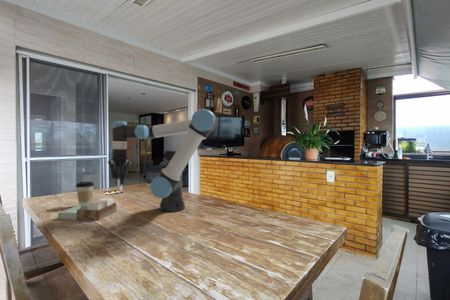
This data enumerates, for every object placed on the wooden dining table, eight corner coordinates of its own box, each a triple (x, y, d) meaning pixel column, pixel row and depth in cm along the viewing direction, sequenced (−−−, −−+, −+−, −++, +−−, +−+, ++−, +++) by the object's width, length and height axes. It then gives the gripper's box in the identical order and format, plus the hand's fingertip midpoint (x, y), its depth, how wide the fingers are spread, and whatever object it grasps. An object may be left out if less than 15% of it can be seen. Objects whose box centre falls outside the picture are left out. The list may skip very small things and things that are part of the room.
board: (116, 211, 134) (116, 202, 134) (98, 220, 118) (98, 210, 118) (96, 210, 135) (96, 202, 135) (77, 219, 119) (76, 210, 119)
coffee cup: (97, 204, 150) (97, 181, 149) (87, 208, 140) (86, 184, 140) (83, 203, 151) (83, 181, 150) (72, 208, 141) (71, 183, 141)
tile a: (113, 203, 133) (113, 198, 133) (107, 206, 127) (107, 200, 127) (103, 203, 134) (103, 197, 134) (97, 205, 128) (97, 200, 128)
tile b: (105, 207, 125) (105, 201, 125) (98, 210, 119) (97, 204, 119) (94, 206, 126) (94, 201, 126) (87, 209, 120) (87, 204, 120)
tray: (97, 210, 136) (97, 204, 136) (76, 219, 119) (76, 213, 119) (81, 210, 137) (81, 204, 136) (58, 219, 120) (58, 212, 120)
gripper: (134, 148, 132) (134, 189, 133) (112, 148, 133) (112, 188, 134) (127, 149, 124) (127, 192, 125) (104, 148, 126) (104, 191, 126)
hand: (119, 190), depth 129 cm, fingers closed
